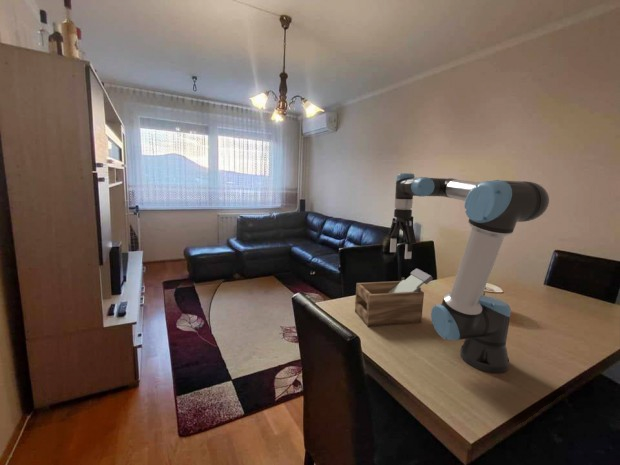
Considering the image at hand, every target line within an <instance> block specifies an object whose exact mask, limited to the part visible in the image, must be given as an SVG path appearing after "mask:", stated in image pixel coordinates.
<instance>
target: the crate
mask: <svg viewBox="0 0 620 465" xmlns="http://www.w3.org/2000/svg"><path fill="white" fill-rule="evenodd" d="M402 280H406V279H405V277H403V276H402V277H401V280H396V281H395V280H393V281H373V282H370V281H369V282H356V285H355V286H356V287H355V302H354V303H355V304H354V312H355V314H357V316H358V317H359V318H360V320H361V321H363V323H364V325H366V327H367V328H370V327H371V328H373V327H382V326H383V327H384V326H396V325H406V324H407V325H408V324H409V325H410V324H420V323H422V320H423V319H422V318H423V310H424V309H423V307H424V306H423V305H424V296H425V292H424V291H422V287H421V286H420V287H417V291H416V292H399V293H388V292H389V291H390V290H391V289H392V288H394V287H395V286H396V285H397V284H399V283H400V282H401V281H402ZM367 304H368V307H367Z"/></svg>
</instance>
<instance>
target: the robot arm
mask: <svg viewBox="0 0 620 465" xmlns="http://www.w3.org/2000/svg"><path fill="white" fill-rule="evenodd" d="M394 193H395V195H394V196H395V198H394V212H393V213H394V214H393V217H392V220H391V221H392V223H391V225H390V229H389V231H388V235H387V236H388V237H389V238H390V245H389V253H396V252H397V238H398V234H399V233H400V231H402V232H403V235H404V239H405V241H406V242H405V250H404V259H405V260H407V259H408V260H412V252H413V244H417V241H416V240H417V239H416V236H415V228H414V221H413V220H409V219H411V218H412V216H413V210H412V208H413V204H414V202H413V200H414V197H421V198H422V197H424V198H425V197H441V198H442V197H443V198H450V199H456V200H458V201H465V202H464V209H465V214H466V216H467V218H468V222H467V223H468V224H469V226H470V227H471V230H470V233H469V236H468V240H467V242H466V245H465V248H464V252H463V253H462V257H461V259H460V263H459V266H458V270H457V273H456V276H455V279H454V282H453V284H452V288H451V291H450V292H446V293H445V294H444V297H443V299H442V302H441V304H440V303H439V304H435V305H433V307H431V311H430V318H431V322H432V326H433V327H434V330H435V331H436V333H437V334H438V335H439V336H440V338H442V339H444V340H446V341H458V340H464V339H465V340H464V341H463V344H462V345H461V346H460V353H459V355H460V357H461V359H462V360H463V361H464V362H465V363H466V364H468V365H470V366H472V367H474V368H475V369H477V370H480V371H483V372H488V373H492V374H502V373H506V372H507V371H508V370H509V368H510V358H509V356H508V351H507V350H508V349H507V339H508V332H509V326H510V322H511V321H510V319H511V316H512V315H511V310H512V309H511V307H510V305H509V304H508V303H506V302H505V301H503V300H501V299H498V298H495V297H493V296H492V297H491V296H488V295H483V294H484V291H485V288H486V285H487V283H488V280H489V279H490V274H491V273H492V270H493V267H494V265H495V262H496V259H497V258H498V254H499V251H500V250H501V247H502V244H503V241H504V239H505V237H507V236H510V235H511V234H513V232H514V231H515V228H516V225H517V223H522V222H531V221H533V220H536V219H538V218H539V217H541V216H542V215H543V214H544V213H545V212H546V211H547V209H548V207H549V204H550V196H549V194H548V192H547V190H546V189H545V188H544V187H543V186H542V185H541V184H538V183H536V182H532V181H519V180H518V181H517V180H503V179H502V180H501V179H493V180H485V181H481V182H480V181H471V180H464V179H463V180H462V179H456V178H452V177H451V178H444V177H443V178H441V177H440V178H439V177H426V176H420V177H415V174H414V173H410V172H409V173H398V174H397V175H396V181H395V192H394Z"/></svg>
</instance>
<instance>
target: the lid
mask: <svg viewBox="0 0 620 465" xmlns="http://www.w3.org/2000/svg"><path fill="white" fill-rule="evenodd" d="M409 274H410V275H409V276H408V277H407V278H406V279H405V280H402V279H401V280H402V281H401V280H400V281H401V282H400V283H399V284H397V285H396V286H395V287H394V288H392V289H391V290H390V291H389V292H388V293H399V292H416V291H417V287H420V288H421V287H422V286H423V285H428V284H429V283H430V282H431V281H433V279H434V277H432V275H431V274H428V272H424V271H423V270H421V269H419V268H415V269H414V270H412V271H411V272H410V273H409Z"/></svg>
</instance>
